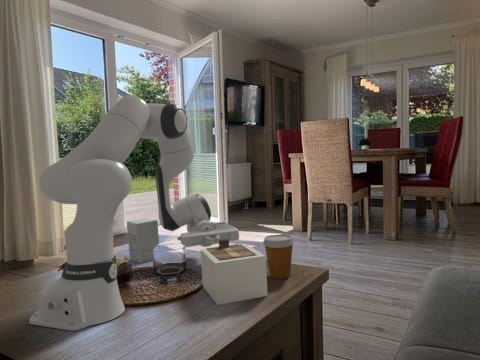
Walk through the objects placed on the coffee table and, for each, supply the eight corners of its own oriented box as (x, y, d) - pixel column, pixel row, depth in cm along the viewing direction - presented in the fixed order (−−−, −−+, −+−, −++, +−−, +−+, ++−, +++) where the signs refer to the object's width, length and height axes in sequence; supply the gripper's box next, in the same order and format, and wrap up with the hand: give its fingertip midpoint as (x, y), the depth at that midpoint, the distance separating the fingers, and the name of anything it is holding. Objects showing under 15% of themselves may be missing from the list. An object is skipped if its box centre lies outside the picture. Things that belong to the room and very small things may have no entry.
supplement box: (150, 254, 155) (147, 217, 154) (160, 258, 148) (158, 219, 147) (128, 259, 149) (126, 221, 148) (139, 263, 143) (136, 223, 141)
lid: (206, 253, 115) (205, 240, 114) (238, 249, 118) (237, 236, 118) (219, 265, 102) (219, 250, 101) (254, 260, 105) (254, 246, 105)
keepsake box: (202, 286, 114) (200, 249, 113) (246, 278, 118) (245, 243, 118) (217, 305, 99) (215, 263, 98) (267, 295, 103) (265, 255, 103)
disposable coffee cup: (297, 279, 115) (295, 240, 114) (265, 281, 115) (263, 241, 115) (293, 270, 125) (291, 233, 124) (264, 271, 125) (262, 235, 124)
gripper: (175, 228, 134) (183, 236, 121) (231, 221, 141) (243, 228, 128) (177, 246, 135) (184, 255, 122) (232, 238, 141) (245, 247, 128)
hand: (215, 241), depth 125 cm, fingers closed
